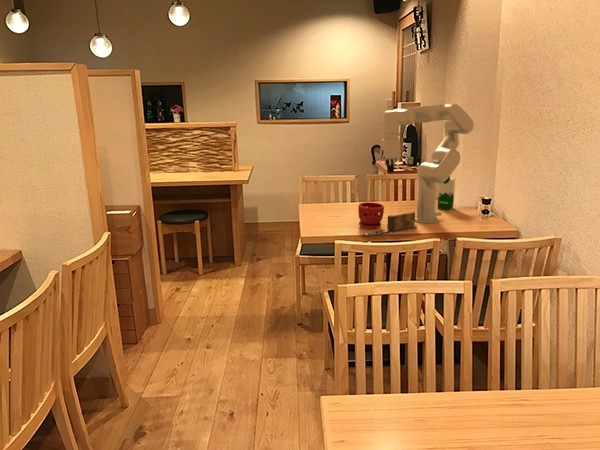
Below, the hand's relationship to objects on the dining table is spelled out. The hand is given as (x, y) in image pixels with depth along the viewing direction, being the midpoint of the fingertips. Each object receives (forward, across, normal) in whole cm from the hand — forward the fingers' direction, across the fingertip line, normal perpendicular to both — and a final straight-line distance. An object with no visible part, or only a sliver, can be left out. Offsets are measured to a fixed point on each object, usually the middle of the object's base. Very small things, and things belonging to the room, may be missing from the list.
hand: (390, 172), depth 252 cm
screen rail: (+29, +5, +8) cm, 30 cm away
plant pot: (+29, +8, -5) cm, 30 cm away
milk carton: (+30, -53, -15) cm, 62 cm away
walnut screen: (+27, -2, +8) cm, 29 cm away
